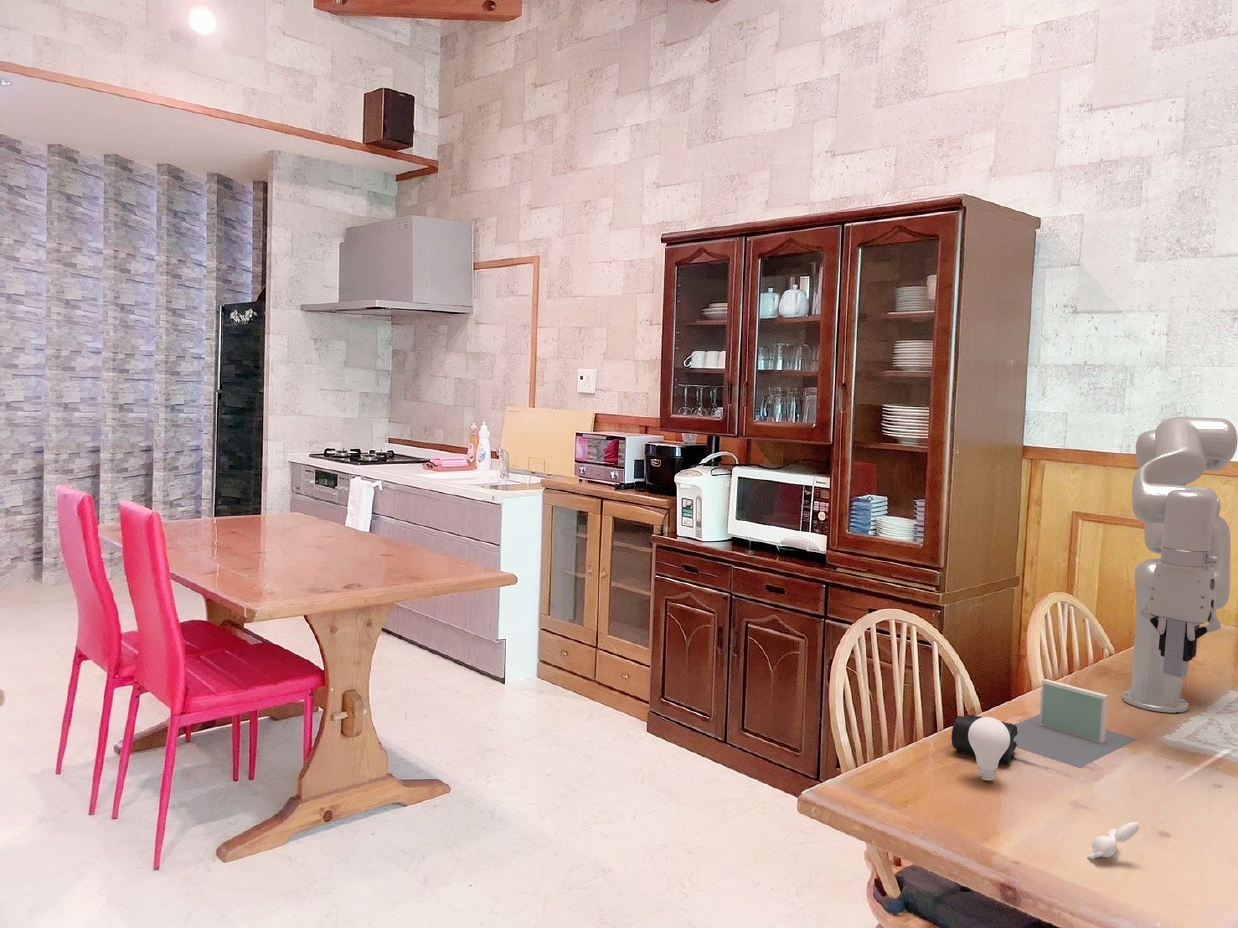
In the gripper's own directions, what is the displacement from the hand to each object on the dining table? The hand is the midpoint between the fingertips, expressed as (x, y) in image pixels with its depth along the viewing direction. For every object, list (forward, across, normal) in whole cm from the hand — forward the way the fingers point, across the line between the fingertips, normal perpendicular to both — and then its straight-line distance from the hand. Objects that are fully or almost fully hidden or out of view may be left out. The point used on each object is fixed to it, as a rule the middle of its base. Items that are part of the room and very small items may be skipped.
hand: (1176, 656), depth 173 cm
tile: (+18, +16, +5) cm, 24 cm away
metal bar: (+3, 0, 0) cm, 3 cm away
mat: (+19, +16, +9) cm, 26 cm away
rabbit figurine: (+19, -10, +48) cm, 53 cm away
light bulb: (+19, +15, +38) cm, 45 cm away
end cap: (+19, +21, +28) cm, 40 cm away
